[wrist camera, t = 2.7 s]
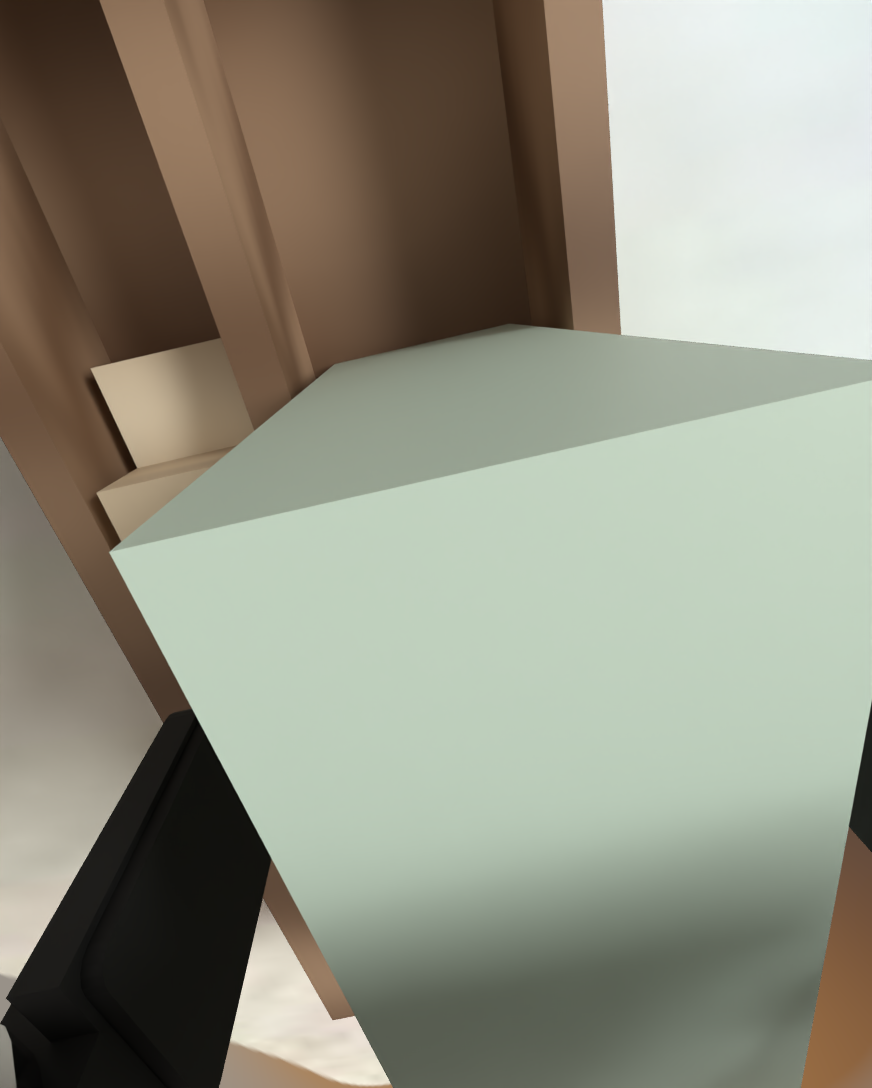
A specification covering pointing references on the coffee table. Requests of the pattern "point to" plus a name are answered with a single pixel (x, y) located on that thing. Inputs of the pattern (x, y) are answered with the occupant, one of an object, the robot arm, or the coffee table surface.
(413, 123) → the tray
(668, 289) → the coffee table surface
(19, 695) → the coffee table surface
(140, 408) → the offcut lower
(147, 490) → the offcut upper
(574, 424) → the pale green block
